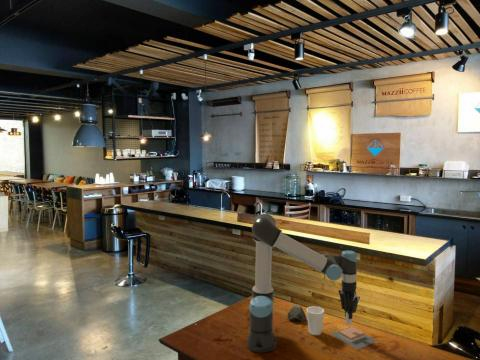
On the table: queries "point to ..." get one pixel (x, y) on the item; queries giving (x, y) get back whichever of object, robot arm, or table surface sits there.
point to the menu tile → (351, 334)
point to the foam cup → (315, 319)
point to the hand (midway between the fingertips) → (348, 323)
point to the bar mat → (358, 343)
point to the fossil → (296, 313)
